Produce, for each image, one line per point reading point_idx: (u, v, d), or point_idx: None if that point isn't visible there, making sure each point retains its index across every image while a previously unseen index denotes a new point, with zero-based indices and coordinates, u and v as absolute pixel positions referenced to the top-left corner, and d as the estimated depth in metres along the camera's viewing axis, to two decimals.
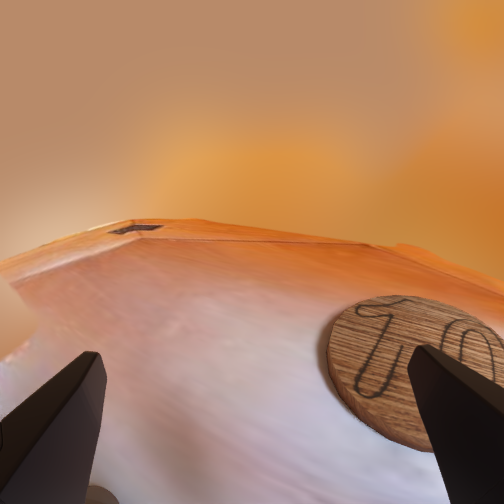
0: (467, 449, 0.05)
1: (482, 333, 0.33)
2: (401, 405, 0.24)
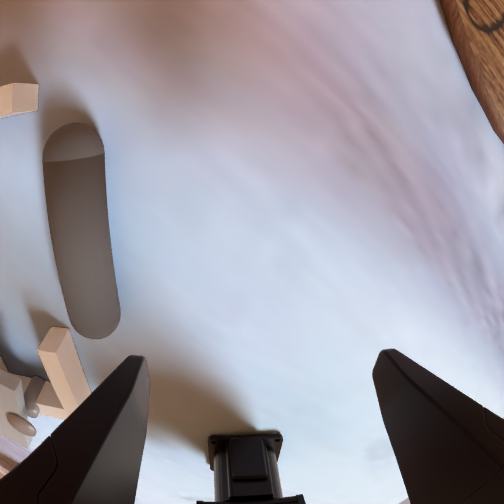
0: (430, 464, 0.05)
1: None
2: None
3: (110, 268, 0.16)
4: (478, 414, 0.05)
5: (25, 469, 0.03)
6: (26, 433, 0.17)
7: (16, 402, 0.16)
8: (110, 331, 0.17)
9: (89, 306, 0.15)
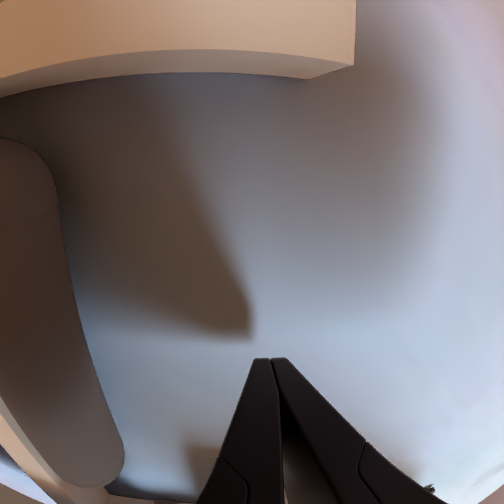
0: (301, 495, 0.05)
1: None
2: None
3: (96, 418, 0.07)
4: (352, 450, 0.05)
5: (212, 501, 0.04)
6: None
7: None
8: (108, 483, 0.08)
9: (66, 466, 0.07)
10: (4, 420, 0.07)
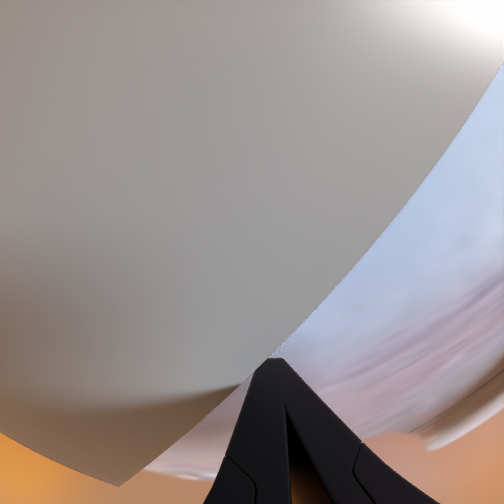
0: (297, 495, 0.05)
1: None
2: None
3: None
4: (348, 451, 0.05)
5: (219, 500, 0.04)
6: None
7: None
8: None
9: None
10: None
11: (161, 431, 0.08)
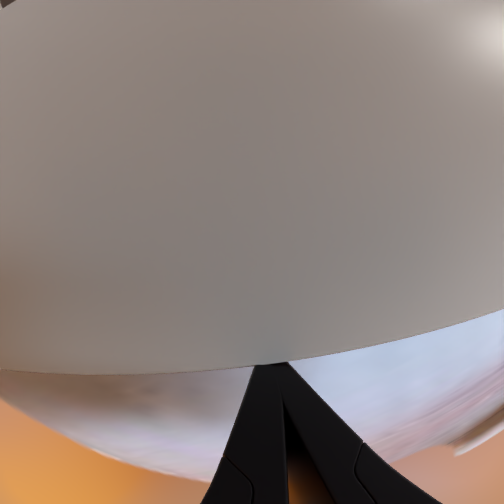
0: (298, 495, 0.05)
1: None
2: None
3: None
4: (349, 451, 0.05)
5: (217, 500, 0.04)
6: None
7: None
8: None
9: None
10: None
11: (100, 359, 0.07)
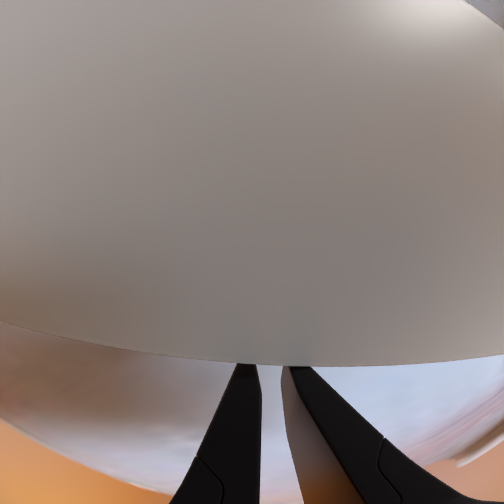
0: (319, 492, 0.05)
1: None
2: None
3: None
4: (371, 447, 0.05)
5: (186, 500, 0.04)
6: None
7: None
8: None
9: None
10: None
11: (113, 328, 0.06)
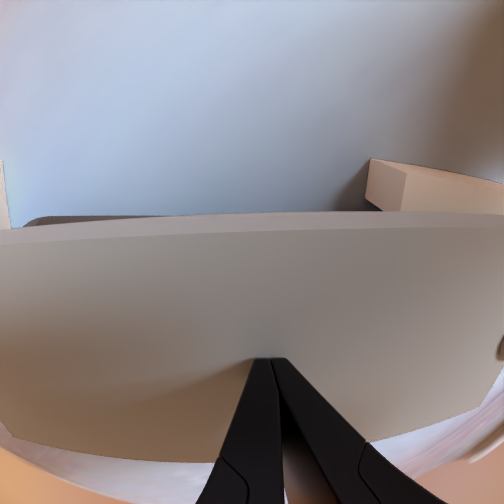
0: (301, 495, 0.05)
1: None
2: None
3: None
4: (353, 450, 0.05)
5: (211, 500, 0.04)
6: None
7: None
8: None
9: None
10: None
11: (117, 451, 0.10)
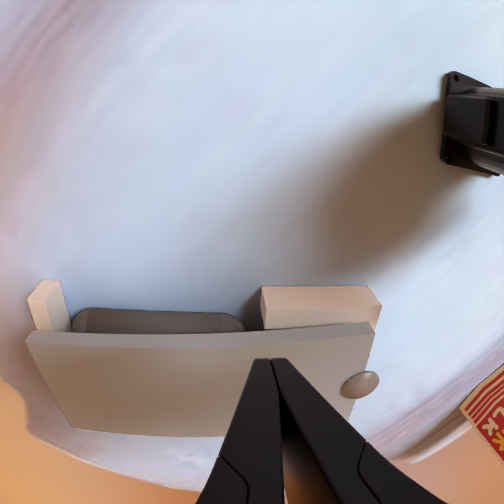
0: (301, 495, 0.05)
1: None
2: None
3: None
4: (352, 450, 0.05)
5: (212, 500, 0.04)
6: (363, 393, 0.20)
7: (369, 351, 0.18)
8: None
9: None
10: None
11: (133, 430, 0.20)
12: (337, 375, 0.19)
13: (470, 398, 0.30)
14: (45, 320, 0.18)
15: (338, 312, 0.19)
